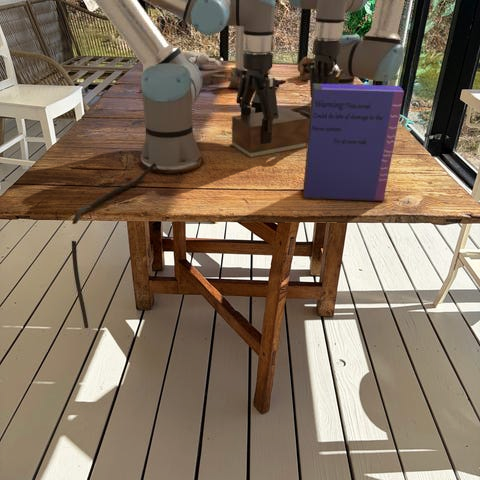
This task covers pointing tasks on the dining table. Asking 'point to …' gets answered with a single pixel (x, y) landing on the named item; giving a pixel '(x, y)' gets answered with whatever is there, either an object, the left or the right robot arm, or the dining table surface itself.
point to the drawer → (305, 116)
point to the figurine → (238, 79)
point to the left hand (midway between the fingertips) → (255, 136)
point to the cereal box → (351, 141)
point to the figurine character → (256, 104)
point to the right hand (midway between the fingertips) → (318, 124)
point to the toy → (200, 58)
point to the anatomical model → (305, 68)
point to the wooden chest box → (283, 132)
